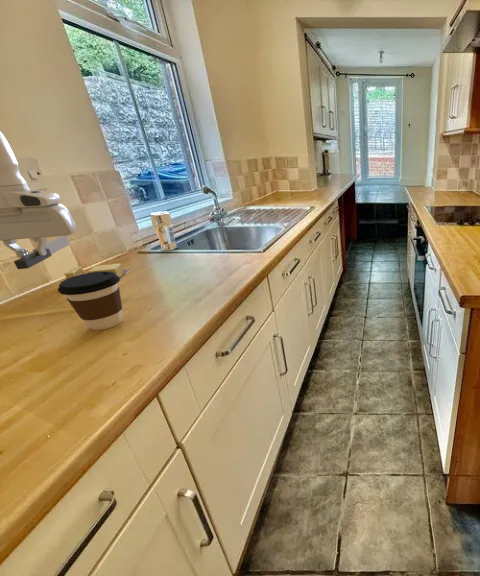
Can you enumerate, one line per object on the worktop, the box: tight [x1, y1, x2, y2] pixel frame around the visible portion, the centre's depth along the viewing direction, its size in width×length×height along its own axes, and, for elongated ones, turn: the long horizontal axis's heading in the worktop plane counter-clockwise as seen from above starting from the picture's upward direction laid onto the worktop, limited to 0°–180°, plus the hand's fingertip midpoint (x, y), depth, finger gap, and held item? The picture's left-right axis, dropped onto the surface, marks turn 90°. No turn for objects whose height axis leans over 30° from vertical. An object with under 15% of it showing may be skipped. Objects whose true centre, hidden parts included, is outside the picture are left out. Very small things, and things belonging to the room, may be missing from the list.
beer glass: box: [149, 211, 179, 251], centre depth 133 cm, size 7×7×15 cm
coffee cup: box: [57, 271, 123, 331], centre depth 76 cm, size 11×11×12 cm
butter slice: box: [64, 266, 85, 279], centre depth 99 cm, size 2×6×4 cm, turn 19°
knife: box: [13, 236, 70, 270], centre depth 83 cm, size 21×2×3 cm, turn 20°
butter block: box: [87, 263, 125, 278], centre depth 101 cm, size 7×6×4 cm
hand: (32, 256), depth 78 cm, fingers closed on knife, 2 cm apart
